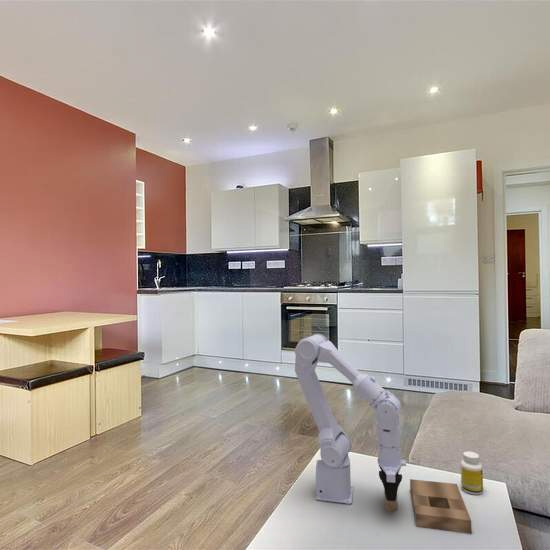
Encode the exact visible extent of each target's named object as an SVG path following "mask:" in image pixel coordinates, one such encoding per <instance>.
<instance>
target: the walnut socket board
mask: <svg viewBox="0 0 550 550" xmlns="http://www.w3.org/2000/svg"><path fill="white" fill-rule="evenodd" d="M409 485H410V486H409V487H410V490H409V491H410V496H411V501H412V507H413V515H414V519H415V526H416V527H418V528H427V529H435V530H440V531H441V530H442V531H450V532H458V533H465V534H472V519H471V516H470V514H469V511H468V509H467V506H466V504H465V502H464V498H463V497H462V494H461V491H460V489H459V486H458V484H457V483H453V482H452V483H451V482H444V481H443V482H440V481H433V480H432V481H429V480H421V479H412V478H411V479H409Z"/></svg>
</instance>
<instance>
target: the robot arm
mask: <svg viewBox="0 0 550 550" xmlns="http://www.w3.org/2000/svg"><path fill="white" fill-rule="evenodd" d="M293 352H294V354H295V359H294V360H295V364H294V372H295V376H296V377H297V379H298V382H299V385H300V387H301V390H302V393H303V394H304V398H305V401H306V402H307V404H308V406H309V409H310V412H311V414H312V417H313V420H314V422H315V424H316V428H317V430H318V440H317V442H318V445H319V450H320V451H319V453H320V454H319V455H320V459H317V460H316V465H315V493H316V495H315V499H316V500H317V501H324V502H331V503H338V504H339V503H340V504H348V505H351V504H352V502H353V495H354V487H353V486H351V484H352V483H351V480H352V479H351V460H350V457H349V453H350V452H351V450H352V447H353V443H352V440H351V438H350V437H349V435H348V434H347V433H346V432H345V430H344V428H343V426H341V425H340V424H339V423H337V421H336V419H335V416H334V414H333V412H332V411H333V410H332V408H331V407H330V404H329V401H328V399H327V397H326V395H325V392H324V389H323V387H322V385H321V382H320V379H319V377H318V375H317V373H316V369H317V365H319V364H318V363H323V364H325V363H326V364H329V365H331V366H333V368H335V369H336V371H337V372H339V373H340V374H341V375H343V377H345V378H346V379H347V380H348V381H349V382H351V384H352V390H353V391H354V392H355V394H357V395H358V396H359V397H360V398H361V399H362V400H363V401H364V402H365V403H366V404H367V405H368V406H369V407H370V408H372V409H373V412H374V415H375V417H376V420H377V430H376V431H377V455H378V456H377V464H378V467H379V469H380V470H378V477H379V479H380V481H381V483H382V485H383V489H384V490H385V495H386V499H387V501H396V497H397V498H398V489H399V487H400V484H401V482H402V481H403V474H401V473H400V471H401V468H402V467H406V466H407V461H406V460H405V459H402V448H401V447H402V445H401V443H402V441H401V421H400V415H399V414H400V412H401V409H402V404H401V401H400V399H399V398H398V396H397V395H395V394H394V393H391V392H390V391H389V390H385V389H384V388H383V387H382V386H381V385H380V384H379V383H378V382H377V381H376V377H375V376H374V375H372V376H370V375H369V374H367V373H361V372H360V371H359V370H358V369H357V368H356V367H355V366H354V365H353V364H352V363H351V362H350V361H349V359H348V358H346V357H345V356H344V355H343V354H342V352H340V351H339V350H338V349H337V347H336V346H335V345H334V344H333V342H332V341H331V340H330V339H329V340H328V339H327V338H326V336H325V335H323V334H321V333H314V334H312V335H310V336H308V337H304V338H302V339H300V340H299V341H298V343H297V345H296V346H295V348H294V351H293ZM396 473H397V474H396ZM384 490H383V491H384Z"/></svg>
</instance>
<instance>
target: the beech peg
mask: <svg viewBox="0 0 550 550" xmlns="http://www.w3.org/2000/svg"><path fill="white" fill-rule="evenodd" d="M396 474H397V473H396ZM383 493H384V495H383V496H384V497H383V498H384V508H385V509H386V510H387V511H389V512H396V511H398V508H399V507H398V506H399V505H398V496H397V497H396V501H387V499H386V495H385V490H383Z"/></svg>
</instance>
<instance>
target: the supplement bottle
mask: <svg viewBox="0 0 550 550" xmlns="http://www.w3.org/2000/svg"><path fill="white" fill-rule="evenodd" d="M462 457H463V459H462V460H461V461H460V486H461V490H462V491H464V492H465V493H467V494H469V495H475V496H476V495H477V496H480V495H481V494H483V492H484V480H483V479H484V478H483V477H484V475H483V465H482V463H480V455H479V454H478V453H476V452H473V451H464V452H463V455H462Z"/></svg>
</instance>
